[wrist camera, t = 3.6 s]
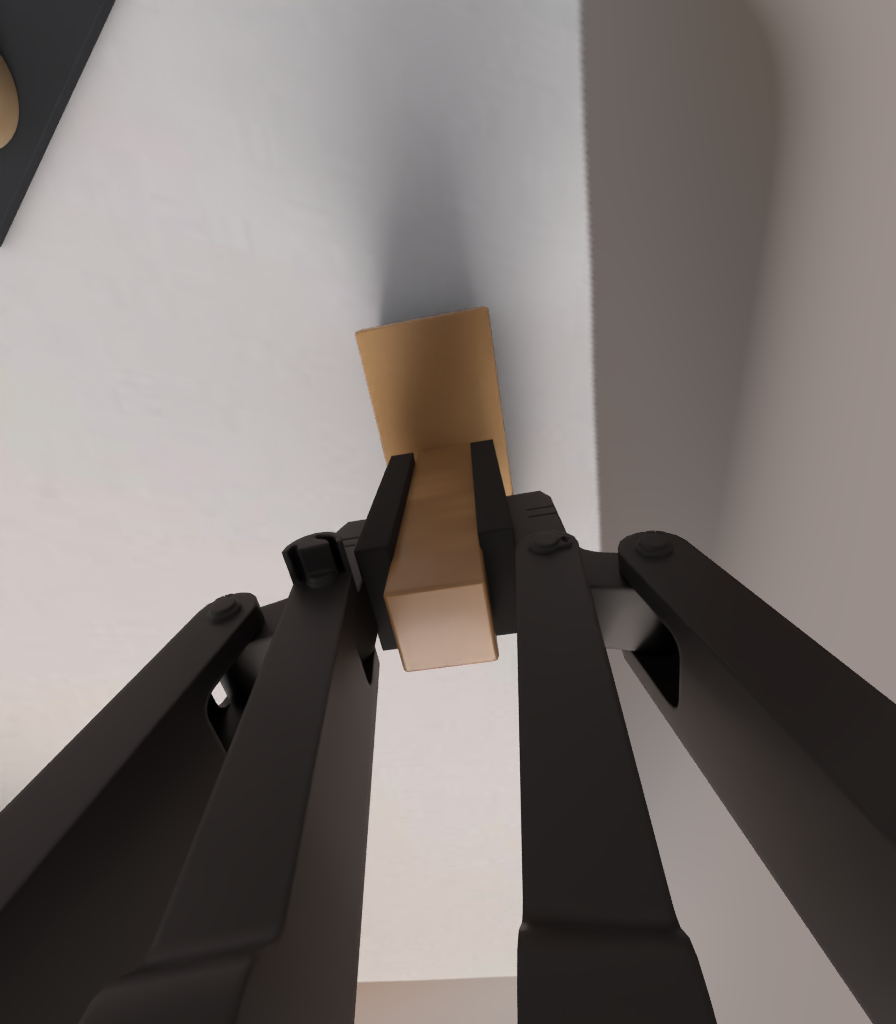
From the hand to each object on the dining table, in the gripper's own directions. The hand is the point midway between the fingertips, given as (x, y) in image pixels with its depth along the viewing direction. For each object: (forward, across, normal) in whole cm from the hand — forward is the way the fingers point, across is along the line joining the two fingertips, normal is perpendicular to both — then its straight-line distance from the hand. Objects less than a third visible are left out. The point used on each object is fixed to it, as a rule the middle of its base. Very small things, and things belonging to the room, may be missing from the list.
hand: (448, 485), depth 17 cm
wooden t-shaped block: (+5, 0, 0) cm, 5 cm away
